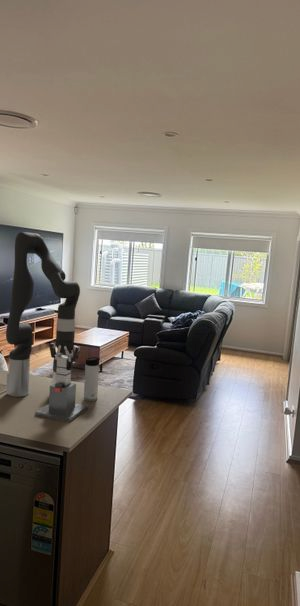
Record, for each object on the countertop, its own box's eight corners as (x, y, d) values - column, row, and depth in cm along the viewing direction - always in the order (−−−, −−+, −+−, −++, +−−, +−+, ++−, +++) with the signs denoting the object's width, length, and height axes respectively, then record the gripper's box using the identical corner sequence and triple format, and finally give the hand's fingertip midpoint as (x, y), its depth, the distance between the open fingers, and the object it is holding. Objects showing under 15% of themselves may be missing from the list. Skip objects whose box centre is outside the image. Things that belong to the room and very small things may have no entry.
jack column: (54, 399, 173) (56, 357, 171) (60, 396, 178) (62, 355, 176) (64, 401, 172) (66, 358, 170) (70, 397, 176) (71, 356, 174)
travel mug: (95, 402, 190) (97, 359, 188) (81, 400, 191) (83, 358, 189) (99, 397, 196) (101, 356, 194) (86, 396, 197) (88, 355, 195)
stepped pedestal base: (35, 415, 170) (36, 384, 169) (54, 403, 185) (56, 374, 184) (69, 422, 166) (71, 390, 164) (87, 409, 181) (88, 379, 179)
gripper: (45, 328, 170) (44, 368, 172) (77, 332, 166) (75, 373, 168) (54, 325, 177) (53, 364, 179) (85, 329, 173) (83, 369, 175)
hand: (63, 368), depth 173 cm, fingers open, 4 cm apart
